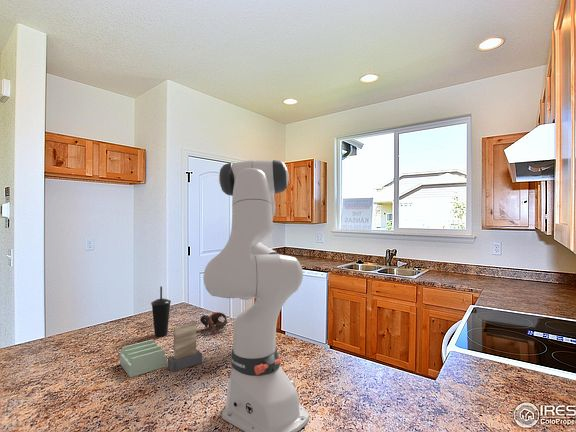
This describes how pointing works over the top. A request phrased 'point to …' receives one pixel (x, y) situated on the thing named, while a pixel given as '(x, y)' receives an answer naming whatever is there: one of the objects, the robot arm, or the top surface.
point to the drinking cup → (161, 315)
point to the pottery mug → (214, 321)
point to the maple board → (184, 340)
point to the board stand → (184, 361)
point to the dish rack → (142, 358)
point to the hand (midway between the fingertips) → (216, 292)
